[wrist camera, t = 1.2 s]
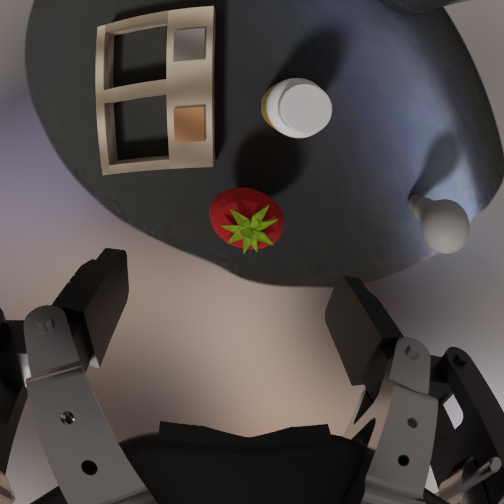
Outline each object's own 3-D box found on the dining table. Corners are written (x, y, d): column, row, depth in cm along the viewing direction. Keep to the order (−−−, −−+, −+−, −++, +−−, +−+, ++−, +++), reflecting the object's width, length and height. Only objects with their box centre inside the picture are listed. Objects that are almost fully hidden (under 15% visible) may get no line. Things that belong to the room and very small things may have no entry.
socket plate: (107, 31, 20) (96, 26, 17) (215, 13, 20) (213, 4, 18) (111, 169, 28) (101, 175, 26) (215, 161, 29) (212, 167, 27)
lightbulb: (410, 170, 30) (465, 201, 20) (435, 195, 32) (485, 230, 22) (385, 207, 32) (431, 249, 23) (411, 228, 34) (455, 272, 25)
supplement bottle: (252, 92, 25) (259, 85, 17) (300, 77, 24) (328, 67, 16) (270, 137, 28) (284, 152, 20) (316, 122, 27) (349, 132, 19)
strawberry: (223, 165, 29) (216, 193, 21) (286, 188, 31) (304, 225, 22) (206, 211, 32) (194, 256, 23) (266, 231, 34) (275, 280, 25)
